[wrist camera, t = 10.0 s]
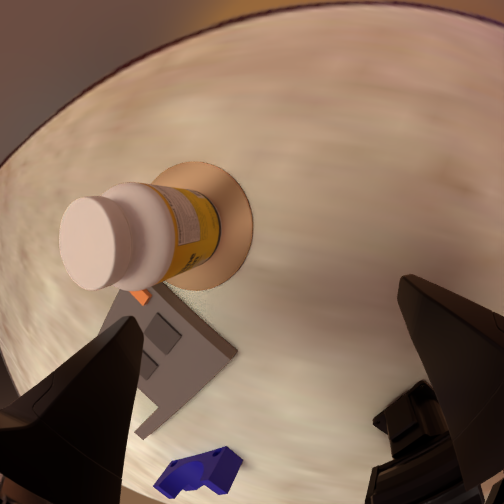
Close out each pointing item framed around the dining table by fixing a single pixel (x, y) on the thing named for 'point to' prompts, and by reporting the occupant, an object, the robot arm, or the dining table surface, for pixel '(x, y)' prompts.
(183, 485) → the cable clip
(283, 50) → the dining table surface
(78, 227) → the pill bottle
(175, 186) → the cork coaster
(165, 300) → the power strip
